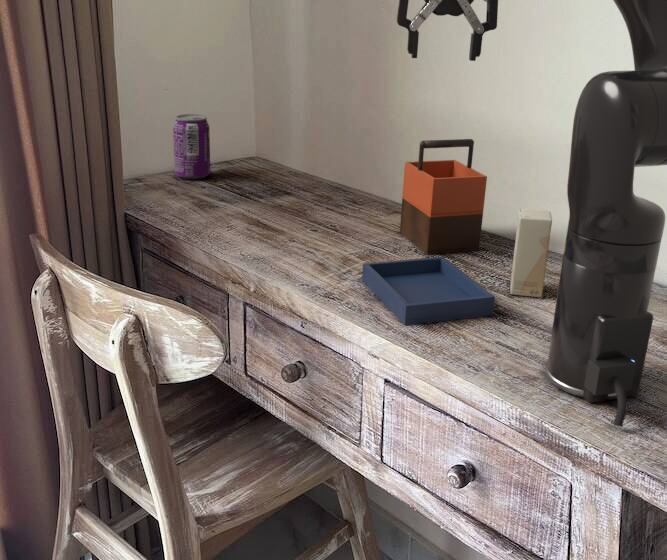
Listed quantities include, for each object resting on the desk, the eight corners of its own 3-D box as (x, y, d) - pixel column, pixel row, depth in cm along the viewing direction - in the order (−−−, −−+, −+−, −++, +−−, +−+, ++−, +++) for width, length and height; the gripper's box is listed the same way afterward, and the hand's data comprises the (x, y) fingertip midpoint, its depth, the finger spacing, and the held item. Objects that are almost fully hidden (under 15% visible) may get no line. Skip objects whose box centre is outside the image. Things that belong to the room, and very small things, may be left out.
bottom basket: (479, 250, 129) (483, 213, 126) (427, 254, 126) (430, 217, 124) (448, 229, 138) (451, 194, 136) (399, 232, 135) (402, 197, 133)
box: (541, 298, 111) (552, 221, 107) (509, 295, 112) (519, 218, 107) (540, 284, 116) (551, 210, 112) (509, 281, 116) (519, 207, 112)
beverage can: (217, 175, 165) (216, 116, 161) (194, 182, 160) (192, 121, 155) (191, 170, 169) (189, 112, 164) (167, 176, 163) (164, 117, 159)
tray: (492, 315, 105) (495, 296, 104) (404, 325, 101) (406, 306, 100) (441, 273, 119) (442, 256, 118) (361, 280, 115) (362, 263, 114)
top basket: (483, 213, 126) (491, 146, 122) (429, 217, 124) (435, 148, 120) (452, 194, 136) (458, 131, 132) (401, 197, 133) (406, 133, 129)
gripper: (403, -64, 110) (396, 60, 116) (509, -59, 110) (496, 64, 116) (400, -62, 117) (393, 54, 123) (499, -59, 117) (487, 58, 123)
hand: (443, 59), depth 119 cm, fingers open, 8 cm apart
